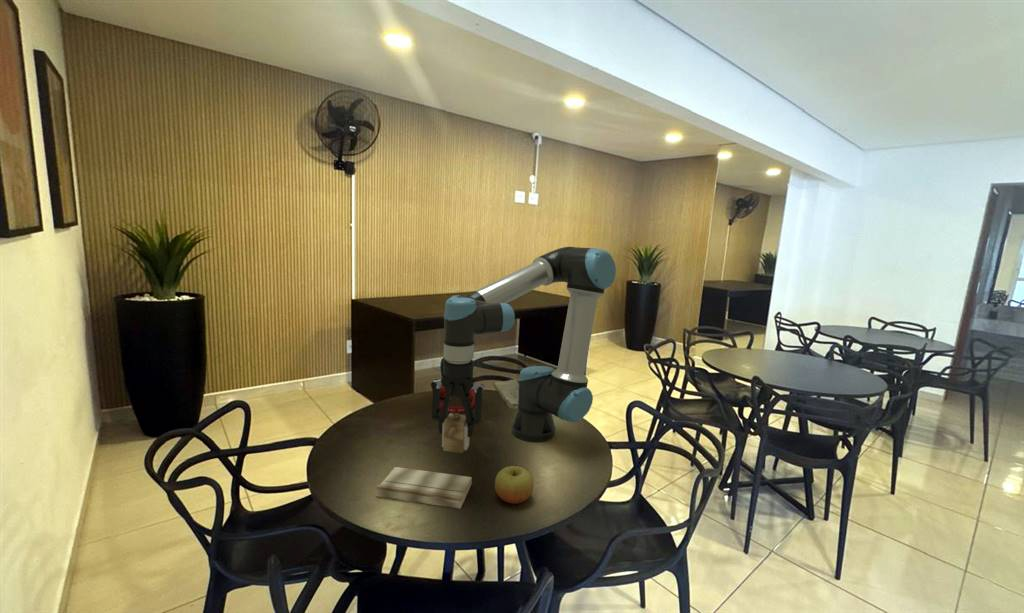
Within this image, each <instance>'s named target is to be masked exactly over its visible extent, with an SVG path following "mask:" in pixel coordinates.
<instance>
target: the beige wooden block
mask: <svg viewBox="0 0 1024 613" xmlns="http://www.w3.org/2000/svg"><path fill="white" fill-rule="evenodd" d="M447 415H448V416H447V417H446V418H445V420H444V446H443V447H442V448H443V451H445V452H452V453H458V454H459V453H460V454H463V453H464V452H465V450H464V426H465V424H466V423H467V420H466V416H465V414H462V413H461V414H460V413H449V414H447Z"/></svg>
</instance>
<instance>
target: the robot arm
mask: <svg viewBox="0 0 1024 613" xmlns="http://www.w3.org/2000/svg"><path fill="white" fill-rule="evenodd" d="M616 267H617V266H616V262H615V260H614V259H613V256H612V254H611V253H610V252H608V251H606V250H605V249H602V248H597V247H596V248H595V247H577V246H563V247H560V248H557V249H556V248H555V249H553V250H552V251H549V252H547V253H544V254H541V255H539V256H538V257H535V258H534V259H533V261H532V263H530V264H528V265H526V266H525V267H522V268H520V269H518V270H516V271H514V272H512V273H510V274H508V275H506V276H504V277H501V278H499V279H498V280H495V281H493V282H491V283H489V284H486V285H484V286H483V287H480V288H478V289H477V290H474V291H472V292H470V293H467V294H465V295H463V294H462V295H461V294H459V295H458V294H456V295H452V296H450V298H448V299H447V300H446V301H445V303H444V304H445V305H444V314H443V320H444V322H443V323H444V326H443V353H442V354H443V356H442V357H443V361H442V363H443V364H442V365H443V366H442V377H441V378H440V379H434V380H433V381H432V382H431V383H430V387H431V391H432V406H431V407H432V408H431V418H432V420H437V422H438V433H439V434H442V435H441V447H442V448H443V446H444V420H445V419H446V418H447V417H448V416H447V415H448V413H449V412H448V409H449V406H450V405H451V403H452V398H453V397H455V396H457V397H459V398H460V400H461V401H462V406H463V407H464V411H465V412H464V415H465V416H466V420H467V423H466V424H465V426H464V451H467V450H468V448H469V446H470V438H472V436H473V435H474V430H475V429H474V428H475V427H474V426H475V425H479V424H480V422H481V420H482V406H483V405H482V404H483V403H482V401H483V398H482V397H483V392H484V389H485V385H484V384H483V383H481V384H478V383H477V382H475V380H474V361H473V359H474V354H475V338H476V336H478V335H484V334H485V335H486V334H495V333H502V332H506V331H510V330H511V329H512V328H513V326H514V324H515V320H516V317H515V316H516V315H515V311H514V308H513V307H512V306H511V305H510V304H508V303H510V302H512V301H514V300H516V299H518V298H520V297H522V296H524V295H525V294H527V293H529V292H531V291H533V290H536V289H537V288H539V287H540V286H544V287H545V286H549V285H551V284H555V283H567V284H566V290H567V291H568V293H569V301H568V306H567V313H566V318H565V324H564V329H563V335H562V340H561V346H560V351H559V352H560V353H559V359H558V363H557V364H558V365H557V368H556V369H555V368H553V367H552V366H547V365H546V366H545V365H532V366H527V367H524V368H522V369H521V371H520V372H519V378H518V383H519V393H518V410H516V413H515V416H514V417H513V421H512V423H511V433H512V435H513V436H514V437H516V438H517V439H520V440H522V441H526V442H531V443H540V442H541V443H542V442H547V441H550V440H552V439H553V438H554V437H555V435H556V424H555V421H554V417H553V416H556V417H557V418H559V419H561V420H563V421H566V422H569V423H577V422H580V421H581V420H583V419H584V418H585V416H586V415H587V414H588V413H589V411H590V410H591V407H592V404H593V401H594V397H593V392H592V391H591V389H590V388H588V383H589V379H588V378H587V376H586V375H585V372H586V367H587V361H588V356H589V350H590V345H591V339H592V333H593V328H594V322H595V316H596V310H597V306H598V302H599V301H598V300H599V299H601V297H602V296H604V294H605V289H608V288H610V287H611V286H612V285H613V284H612V283H614V281H615V279H616V274H617V273H616V272H617V270H616V269H617V268H616ZM441 384H442V385H443V386H444V388H445V389H446V391H447V392H446V395H445V398H444V401H443V403H442V404H443V407H442V410H441V409H440V402H441V396H440V388H441ZM472 388H473V393H474V397H475V404H474V412H473V408H472V407H471V398H470V394H469V391H470V389H471V390H472ZM450 407H451V406H450Z"/></svg>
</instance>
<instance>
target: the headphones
mask: <svg viewBox="0 0 1024 613" xmlns="http://www.w3.org/2000/svg"><path fill="white" fill-rule="evenodd" d="M446 392H447V391H446V389H445V388H444V386H443V385H442V384H441V388H440V399H445V395H446ZM469 398H470V400H472V401H470V403H471V407H472V409H473V408H475V392H474V391H472V388H471V389H470V390H469ZM442 407H443V403H442V401H440V411H441V410H442ZM449 412H450V413H453V414H454V413H459V414H460V412H462V413H465V411H464V407H463V405H462V406H449V409H448V412H447V413H449ZM450 413H449V414H450Z"/></svg>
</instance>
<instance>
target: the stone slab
mask: <svg viewBox="0 0 1024 613" xmlns="http://www.w3.org/2000/svg"><path fill="white" fill-rule="evenodd" d="M492 384H493V385H492V386H493V389H495V390H496V391H497V393H498V394H499V396H500V397H501V398H502V401H504V402H505V403H506V405H507V407H508V406H509V407H508V408H509V409H510V410H515V411H517V410H518V393H519V381H518V380H517V379H510V380H504V381H494V382H493V383H492ZM511 393H512V394H511Z"/></svg>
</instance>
